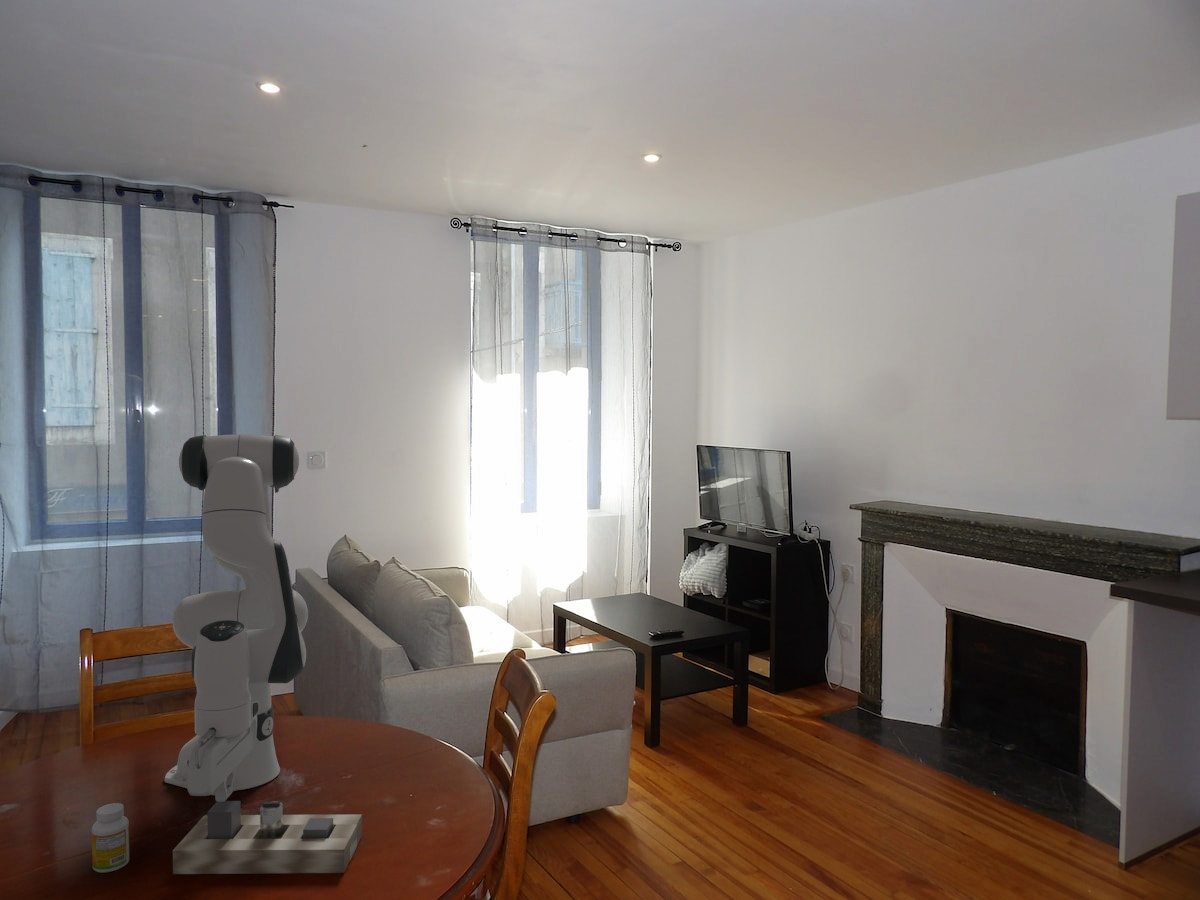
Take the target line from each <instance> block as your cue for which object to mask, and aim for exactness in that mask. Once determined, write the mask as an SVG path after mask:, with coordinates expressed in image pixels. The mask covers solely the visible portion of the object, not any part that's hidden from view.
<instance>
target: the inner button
mask: <svg viewBox="0 0 1200 900" xmlns="http://www.w3.org/2000/svg"><path fill="white" fill-rule="evenodd" d="M241 803H242V802H241V800H225V801H224V802H217V801H216V802H215V803H214V804H213V805H212V806H211V807H210V808H209V810H208V811H207V814H206V815H208V839H233V838H234V837H235V836H236V835H237V833H238V832H239V831H240V829H241V815H242V814H241V813H242V811H241V810H242V809H241V807H242V806H241Z"/></svg>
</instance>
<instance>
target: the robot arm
mask: <svg viewBox="0 0 1200 900" xmlns="http://www.w3.org/2000/svg"><path fill="white" fill-rule="evenodd" d="M299 465H300V457H299V452H298V449H297V447H296V446H295V442H294V441H293V440H292V438H291V437H288V436H283V435H277V434H275V435H265V434H259V433H240V434H220V435H219V434H218V435H209V436H208V435H206V434H204V435H197V436H192V437H189V438H188V439H187V440H185V442H184V443H183V446H182V448H181V451H180V453H179V457H178V468H179V471H180V474H181V476H182V478H183V481H184V482H185V483H186V484H188V485H189V486H190V487H192V488H193V487H194V488H196V489H198V490H199V491H204V494H203V501H202V515H201V532H202V533H201V534H202V542H203V544H204V546H205V547H206V548H207V550H208V551H209V553H211V554H212V555H213V559H214V561H215V563H216V564H217V566H218V567H220V569H222V570H224V571H226V572H228V573H230V574H232V575H235V576H237V577H239V578H241V579H242V580H243V582H244V586H245V589H243V590H227V591H226V590H224V591H223V590H222V591H218V590H217V591H205V592H201V593H197V594H193V595H188V596H185V597H184V598H183V599H181V601H180V602H179V603H178V604H177V606H176V608H175V610H174V612H173V615H172V628H173V632H174V634H175V635H176V637H177V639H178V640H179V641H180V642H181V643H182V644H184V645H186V646H188V647H189V648H191V649H192V653H191V678H192V679H193V681H194V684H195V688H196V695H195V700H194V733H195V736H194V737H193V738H191V739H190V740H189V741H188V742H186V743H185V744H184V745H183V747H181V749H180V751H179V753H178V758H177V764H176V765H175V766H173V767H172V768H171V769H170V770H169V771H167V773H166V774H165V776H164V783H167V784H170V785H173V786H177V787H182V788H185V789H187V792H188V794H189V795H190V796H191V797H192V796H193V797H207V796H215V798H214V799H215V801H216V802H224V801H227V799H228V798H229V797H230V796H231V795H232V794H233V792H235V791H242V790H246V789H251V788H256V787H259V786H262V785H264V784H267V783H270V782H271V781H272V780H273V779H275V778H276V777H277V776H278V775H280V772H281V767H280V765H279V762H278V758H277V754H276V753H277V752H276V748H275V744H274V742H275V741H274V735H273V734H274V733H273V732H274V726H275V725H274V724H275V720H274V718H275V717H274V714H275V713H274V705H273V703H272V684H289V683H290V682H291V681H293V680H294V679H295V678H296V677H298V676H299V675H300V674H301V672H303V671H304V669H305V665H306V660H307V649H306V648H307V647H306V643H305V640H304V637H303V634H302V632H303V630H304V629H305V627H306V625H307V622H308V618H309V609H308V606H307V605H308V604H307V602H306V600H305V599H304V597H303V596H302V594H300V593H299V592H298V591H297V590H295V589H293V586H292V585H293V584H292V579H291V573H290V569H289V564H288V558H287V555H286V551H285V548H284V546H283V544H282V541H281V542H280V541H279V540H277V539H274V538H273V536H272V527H273V526H272V505H271V504H272V503H271V496H270V489H269V488H270V487H271V488H272V487H274V493H275V494H277V493H279V490H280V489H281V488H284V487H286V486H288V485H289V484H290V483H292V482H293V481H294V480H295V476H296V475H297V473H298V470H299Z"/></svg>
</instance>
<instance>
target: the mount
mask: <svg viewBox="0 0 1200 900" xmlns="http://www.w3.org/2000/svg"><path fill="white" fill-rule="evenodd" d="M310 818H333V831H332V833H331V835H330V837H329V838H325V839H303V829H304V827H305V826H306V824H307V823H308V821H309V819H310ZM362 837H363V814H355V813H354V814H283V834H282V835H281V836H280V837H278V838H276V839H262V838H261V837H260V814H241V829H240V831H239V832H238V833H237V835H236V836H235V837H234V838H233V839H208V814H205V815H203V816H202V817H201V818H200V819H199V820H198V821H197V822H196V824H195V825H194V826H193V827H192V828H191V829H190V831H189V832H188V833H187V834H186V835H185V836H184V837H183V838H182V839H181V841H180V842H178V844H176V846H175V847H174V849H172V874H173V875H203V874H204V875H209V874H210V875H214V874H215V875H216V874H217V875H224V874H225V875H228V874H229V875H231V874H232V875H234V874H235V875H236V874H243V875H246V874H251V875H252V874H256V875H257V874H345V873H346V870H347V868H348V867H349V863H350V862H351V861H352V857H353V856H354V854H355V851H356V849H357V847H358V845H359V843H360V841H361V840H362Z"/></svg>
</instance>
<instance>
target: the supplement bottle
mask: <svg viewBox="0 0 1200 900" xmlns="http://www.w3.org/2000/svg"><path fill="white" fill-rule="evenodd" d="M95 816H96V821H95V822H94V824H92V827H91V854H92V856H91V857H92V858H91V860H92V861H91V862H92V869H93V870H94V871H95V872H97V873H103V874H104V873H110V872H113V871H117V870H120V869H122V868H123V867H125V866H126V865H127V864H128V863H129V862H130V823H129V819H128V817H127V816H125V806H124V804H122V803H120V802H113V803H108V804H105V805H102V806H101V807H98V809H96V815H95Z"/></svg>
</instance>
